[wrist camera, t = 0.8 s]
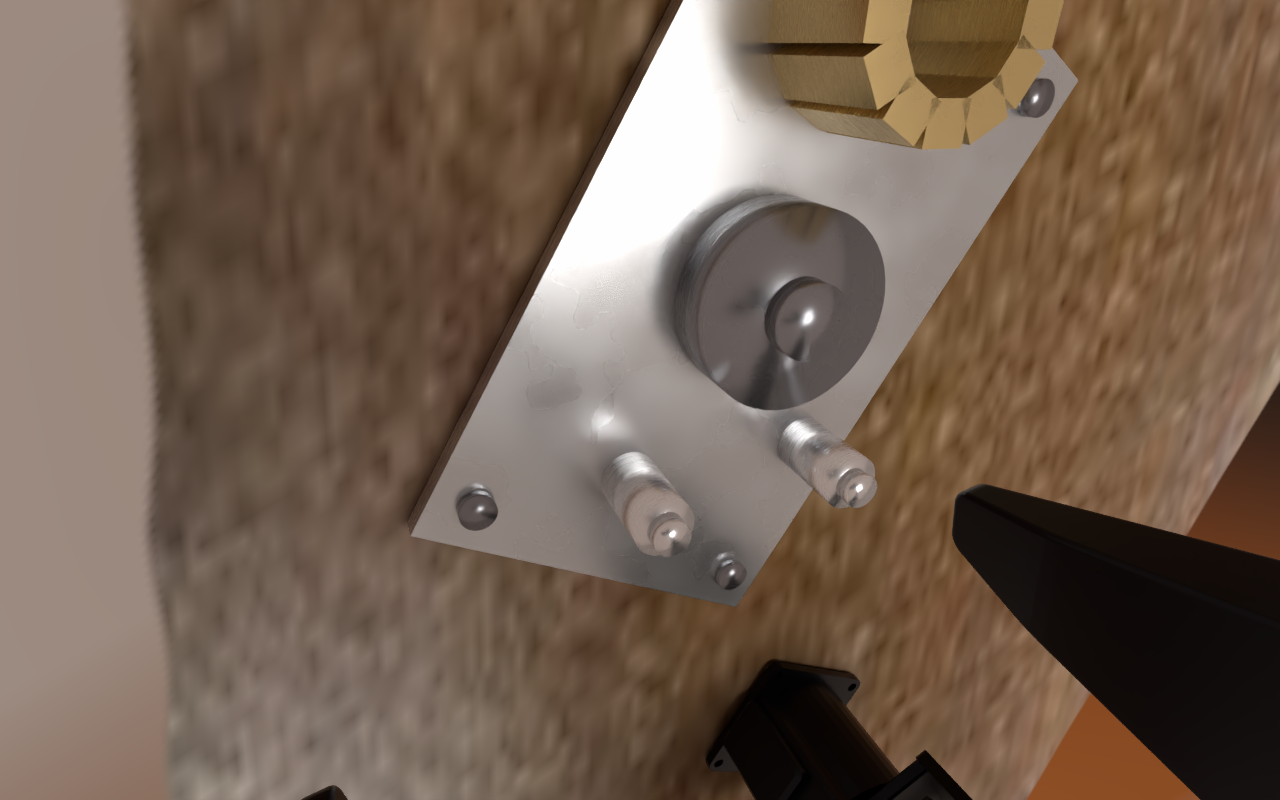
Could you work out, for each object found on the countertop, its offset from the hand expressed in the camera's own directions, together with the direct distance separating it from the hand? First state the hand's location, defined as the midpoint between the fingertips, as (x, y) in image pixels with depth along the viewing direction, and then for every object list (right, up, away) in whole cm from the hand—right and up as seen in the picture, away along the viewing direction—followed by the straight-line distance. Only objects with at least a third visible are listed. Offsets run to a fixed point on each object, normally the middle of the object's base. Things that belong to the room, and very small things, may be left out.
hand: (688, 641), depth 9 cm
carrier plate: (+3, +7, +14) cm, 16 cm away
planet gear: (+6, +14, +11) cm, 18 cm away
